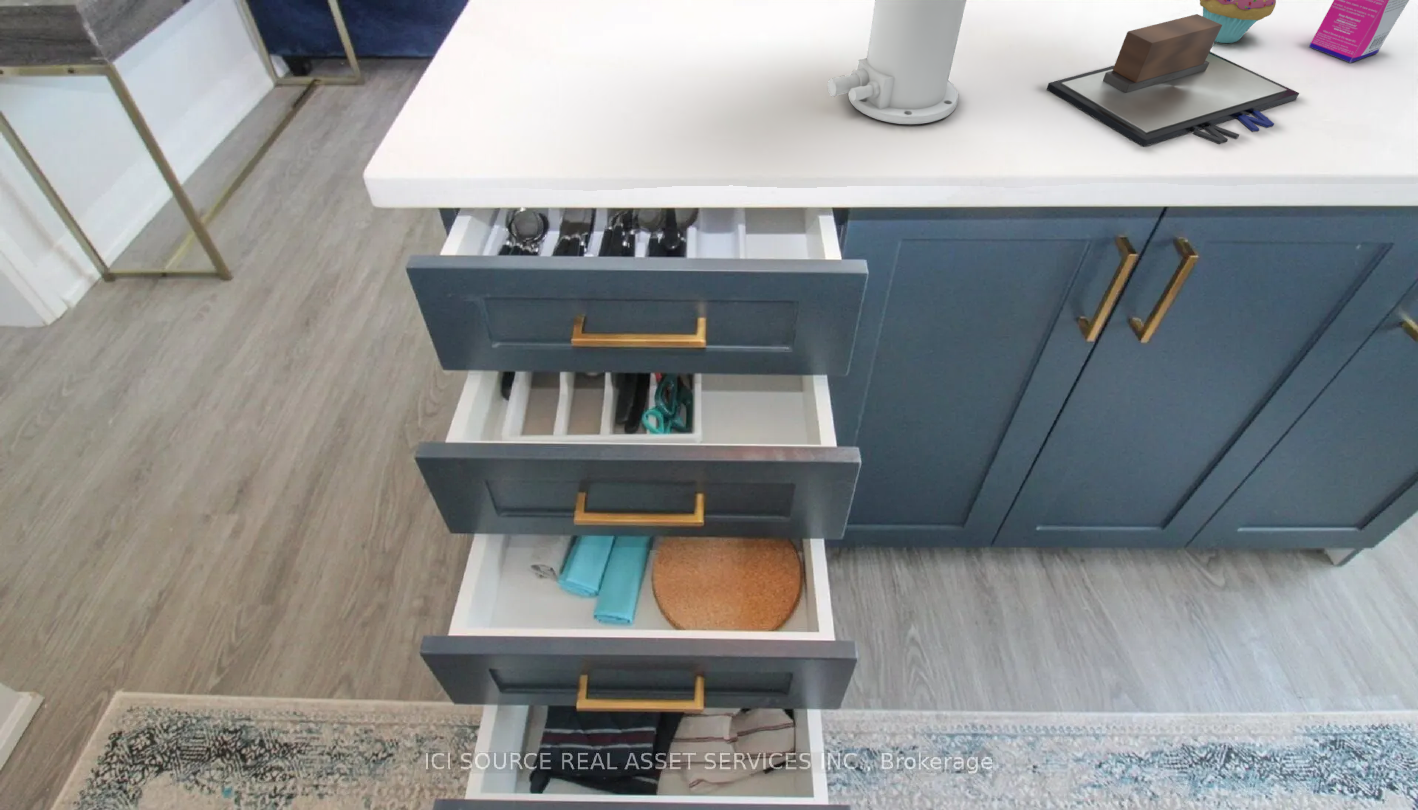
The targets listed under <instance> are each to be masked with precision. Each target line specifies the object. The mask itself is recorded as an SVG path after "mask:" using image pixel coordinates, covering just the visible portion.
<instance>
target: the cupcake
mask: <svg viewBox="0 0 1418 810" xmlns="http://www.w3.org/2000/svg"><path fill="white" fill-rule="evenodd" d="M1276 5H1277V0H1199V6H1201V7H1202V16H1203V17H1205V18H1207V19H1210V20H1212V21H1214V22H1217V23H1219V24H1221V25H1222V27H1221V29H1220V31H1219V33H1218V35H1217V37H1216V39H1215V41H1214V43H1221V44H1234V43H1237V42H1239V41H1240V40H1241V39H1242V37H1243V36H1244V35H1245V34H1246V33H1247V31H1248V30H1250V28H1251V27H1252V26H1253V25H1254V24H1256V23H1257V22H1258V21H1260V20H1261V21H1262V20H1263V19H1264V18H1266V17H1269V16H1271V15H1272V13H1273V12H1274V10H1275V8H1276Z"/></svg>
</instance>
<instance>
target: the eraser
mask: <svg viewBox="0 0 1418 810" xmlns="http://www.w3.org/2000/svg"><path fill="white" fill-rule="evenodd" d="M1221 27H1222V25H1221V24H1219V23H1217V22H1214V21H1212V20H1210V19H1207V18H1205V17H1203V15H1201V14H1198V13H1196V14H1195V13H1194V14H1191V15H1188V16H1183V17H1180V18H1175V19H1172V20H1167V21H1164V22H1160V23H1156V24H1152V25H1147V26H1144V27H1139V28H1136V29H1131V30H1128V31H1126V34H1125V37H1124V40H1123V42H1122V45H1121V48H1120V50H1119V52H1118V55H1117V58H1116V59H1115V63H1114V65H1113V66H1114V68H1113V71H1110V72H1106V73H1105V76H1104V79H1103V81H1105V82H1106V83H1108V84H1110V85H1112V86H1114V87H1115V88H1117V89H1119V90H1121V91H1123V92H1125V93H1128V92H1131V91H1135V90H1138V89H1142V88H1145V87H1149V86H1152V85H1156V84H1160V83H1163V82H1167V81H1170V80H1174V79H1177V78H1181V77H1184V76H1188V75H1192V74H1195V73H1199V72H1202V71H1206V69H1207V67H1208V65H1209V63H1210V62H1208V61H1205V60H1206V58H1207V56H1208V54H1209V52H1211V49H1212V48H1213V46H1214V44H1215V39H1216V37H1217V35H1218V33H1219V31H1220V29H1221Z"/></svg>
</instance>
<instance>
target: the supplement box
mask: <svg viewBox="0 0 1418 810" xmlns="http://www.w3.org/2000/svg"><path fill="white" fill-rule="evenodd" d="M1409 2H1410V0H1333V1H1332V3H1331V5H1330V7H1329V9H1328V10H1327V12H1326V14H1325V16H1324V17H1323V19H1322V21H1321V23H1320V25H1319V27H1318V29H1317V30H1316V32H1315V34H1314V36H1313V38H1312V39H1311V41H1310V43H1309V48H1311V49H1313V50H1316V51H1319V52H1322V53H1324V54H1327V55H1329V56H1332V57H1335V58H1337V59H1339V60H1341V61H1344V62H1347V63H1349V64H1351V63H1355V62H1357V61H1359V60H1362V59H1364V58H1367V57H1370V56H1373V55H1376V54H1378V53H1379V51H1380V49H1381V47H1382V46H1383V44H1384V43H1385V41H1386V39H1387V38H1388V36H1389V34H1390V33H1391V31H1392V29H1393V27H1394V26H1395V24H1396V22H1397V21H1398V19H1399V18H1400V17H1401V15H1402V13H1403V11H1404V10H1405V7H1406V6H1407V4H1408V3H1409Z"/></svg>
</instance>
